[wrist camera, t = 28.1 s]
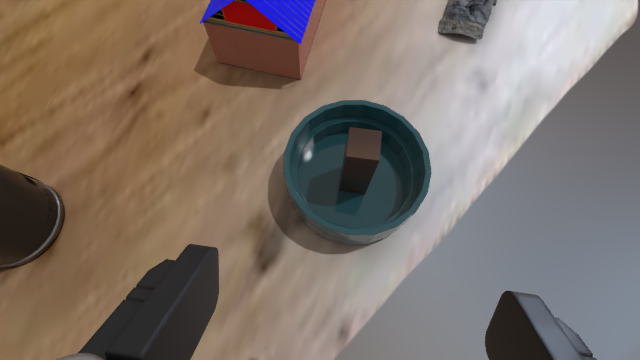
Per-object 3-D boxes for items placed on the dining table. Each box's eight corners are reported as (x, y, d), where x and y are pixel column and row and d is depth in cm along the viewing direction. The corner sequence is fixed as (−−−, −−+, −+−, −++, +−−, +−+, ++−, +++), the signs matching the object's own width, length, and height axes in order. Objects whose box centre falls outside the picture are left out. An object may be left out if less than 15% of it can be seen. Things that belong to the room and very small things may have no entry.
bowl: (311, 264, 36) (310, 256, 31) (272, 145, 41) (266, 122, 36) (437, 220, 38) (456, 206, 33) (385, 112, 43) (395, 85, 38)
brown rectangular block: (365, 194, 38) (379, 160, 30) (338, 190, 38) (345, 156, 30) (367, 169, 39) (382, 130, 31) (341, 166, 39) (349, 126, 31)
